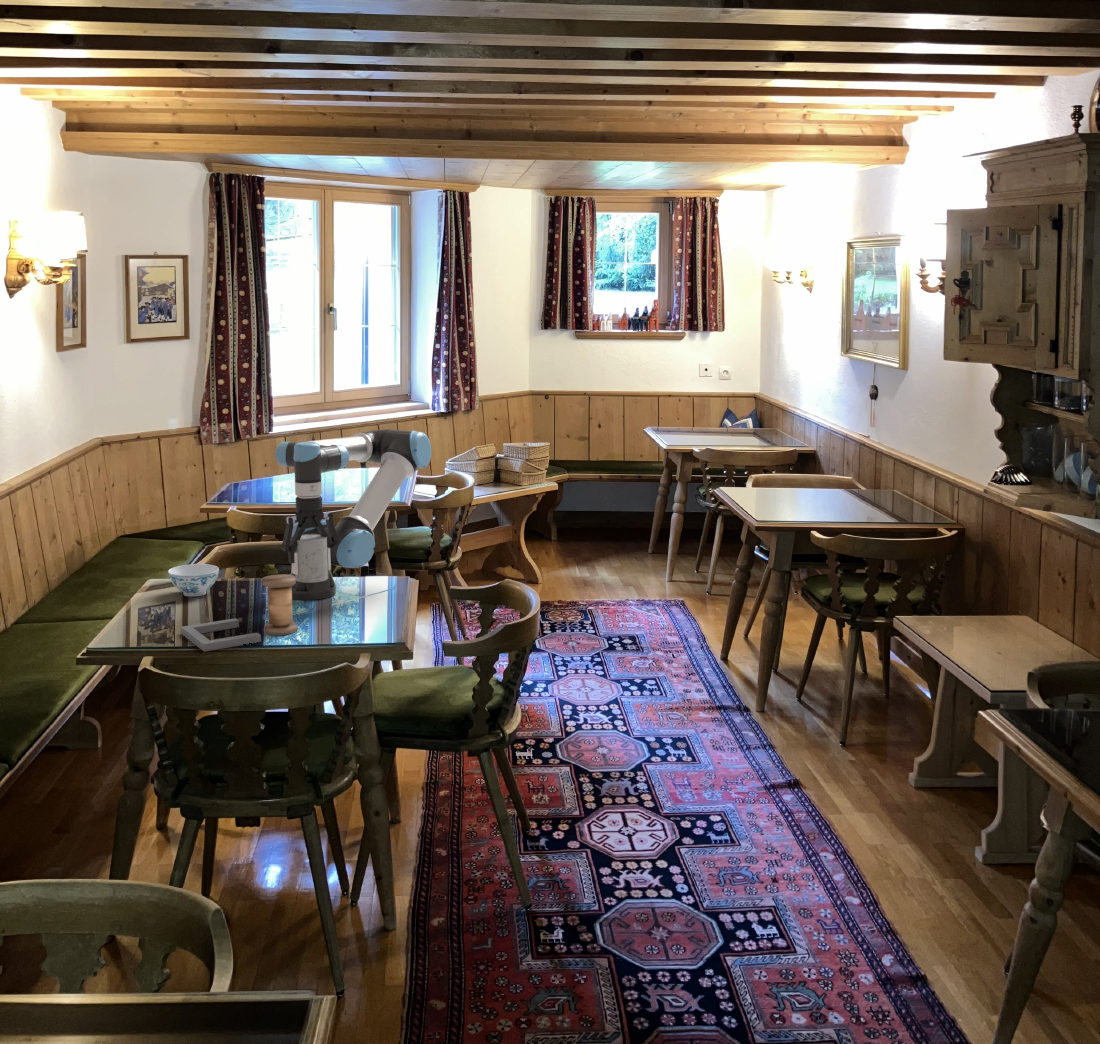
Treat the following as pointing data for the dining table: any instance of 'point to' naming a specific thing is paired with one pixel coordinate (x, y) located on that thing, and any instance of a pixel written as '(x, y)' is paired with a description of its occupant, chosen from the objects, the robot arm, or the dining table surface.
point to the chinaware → (193, 578)
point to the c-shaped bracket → (207, 645)
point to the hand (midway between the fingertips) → (311, 571)
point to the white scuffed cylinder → (312, 558)
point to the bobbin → (279, 604)
